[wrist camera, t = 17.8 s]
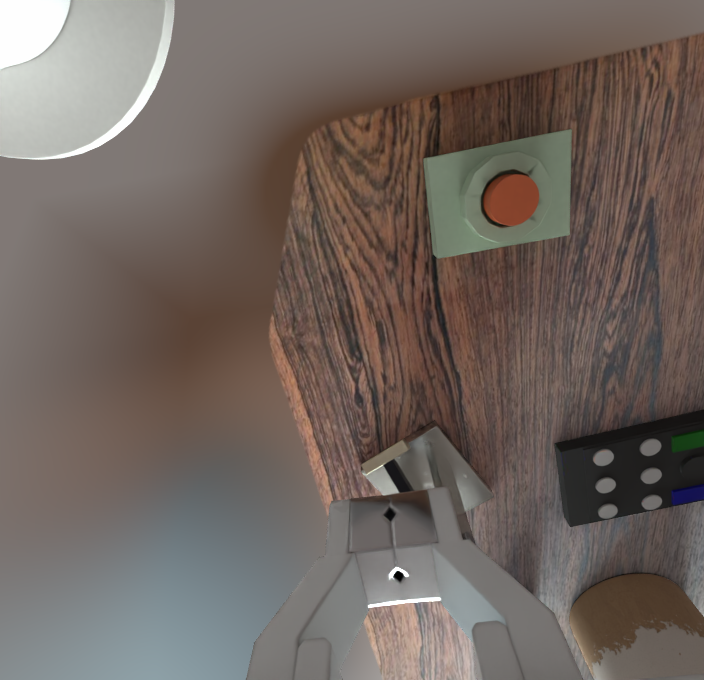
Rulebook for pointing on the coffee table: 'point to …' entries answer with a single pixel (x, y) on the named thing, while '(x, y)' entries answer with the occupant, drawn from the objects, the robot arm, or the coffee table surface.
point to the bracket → (437, 472)
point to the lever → (391, 465)
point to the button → (511, 199)
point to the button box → (476, 175)
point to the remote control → (632, 469)
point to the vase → (638, 629)
